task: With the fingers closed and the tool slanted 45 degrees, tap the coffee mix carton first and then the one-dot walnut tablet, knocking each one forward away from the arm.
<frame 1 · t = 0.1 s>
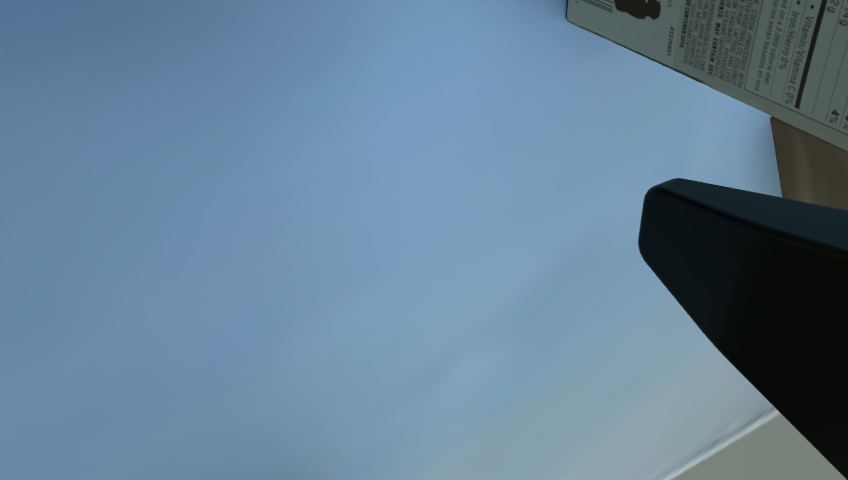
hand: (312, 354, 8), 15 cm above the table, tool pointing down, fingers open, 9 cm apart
dot tablet: (796, 151, 37), on the table
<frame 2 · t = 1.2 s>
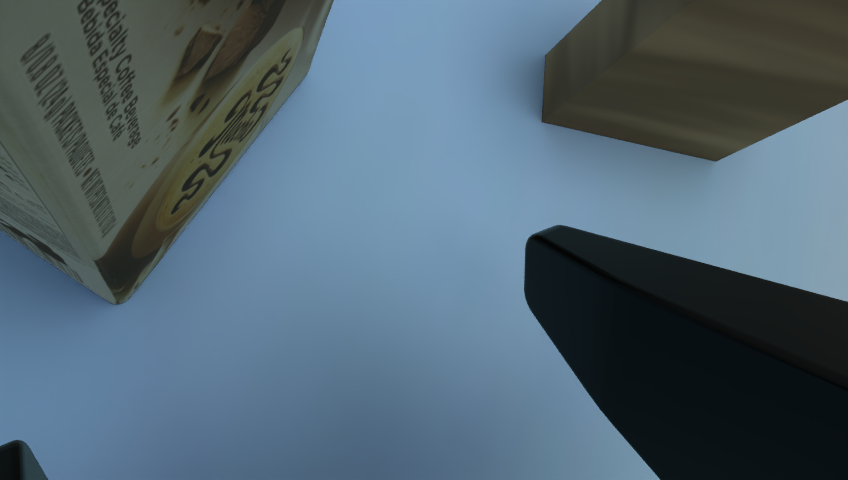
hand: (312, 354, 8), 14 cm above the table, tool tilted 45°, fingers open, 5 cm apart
coffee box: (129, 122, 21), on the table
dot tablet: (632, 109, 27), on the table
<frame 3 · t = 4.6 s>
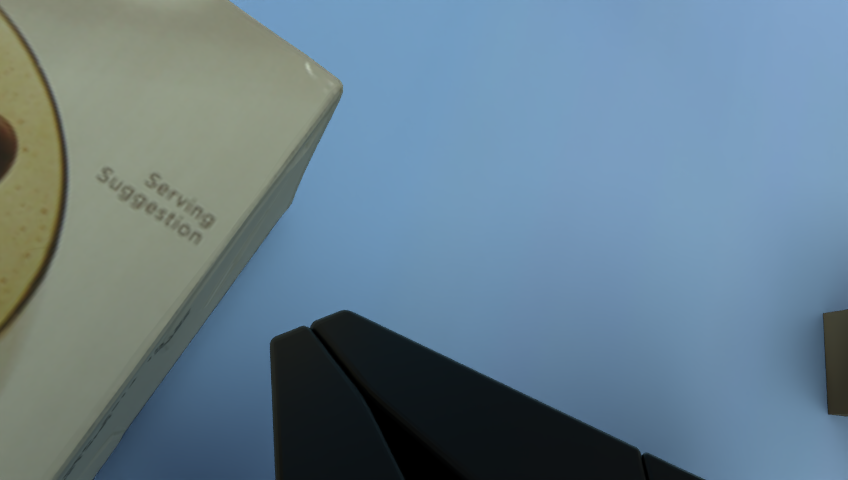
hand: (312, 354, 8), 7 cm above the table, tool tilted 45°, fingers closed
coffee box: (153, 408, 11), point 3 cm above the table
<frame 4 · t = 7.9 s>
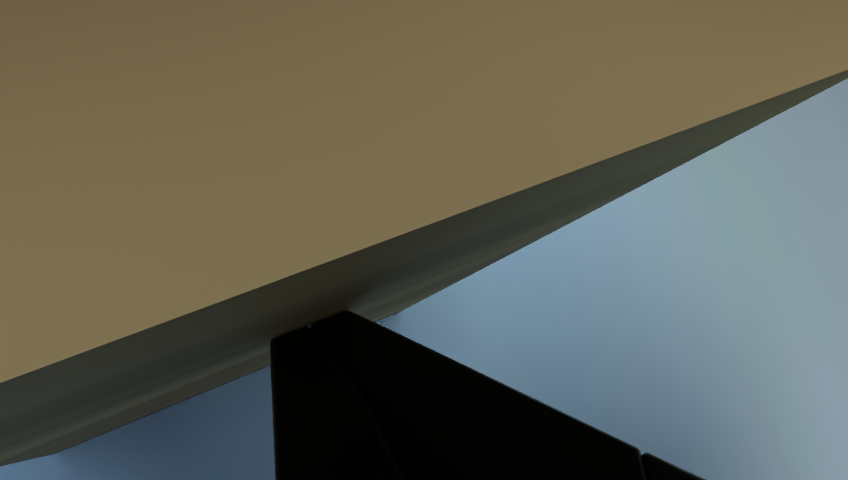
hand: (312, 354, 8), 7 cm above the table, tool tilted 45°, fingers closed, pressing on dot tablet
dot tablet: (219, 317, 15), on the table, touching gripper
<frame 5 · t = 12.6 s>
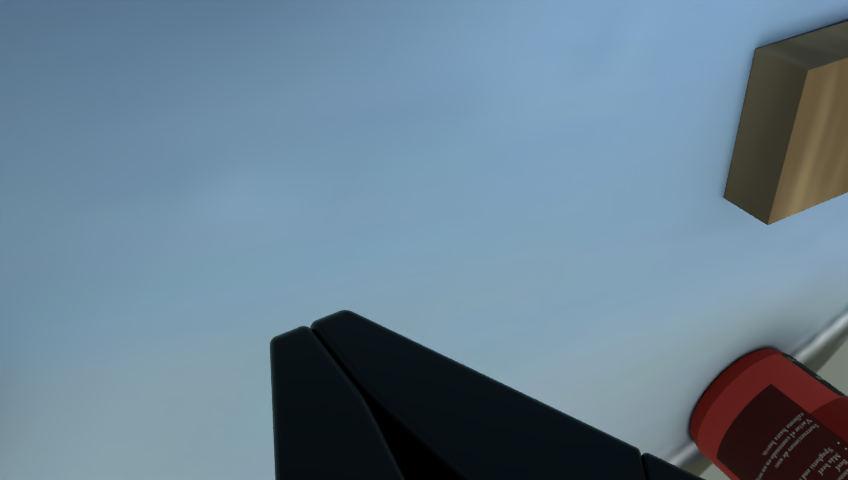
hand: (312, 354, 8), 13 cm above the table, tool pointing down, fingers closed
dot tablet: (761, 140, 31), point 1 cm above the table, tilted 88°
canned food: (732, 393, 45), on the table
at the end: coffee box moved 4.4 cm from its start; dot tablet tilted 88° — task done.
